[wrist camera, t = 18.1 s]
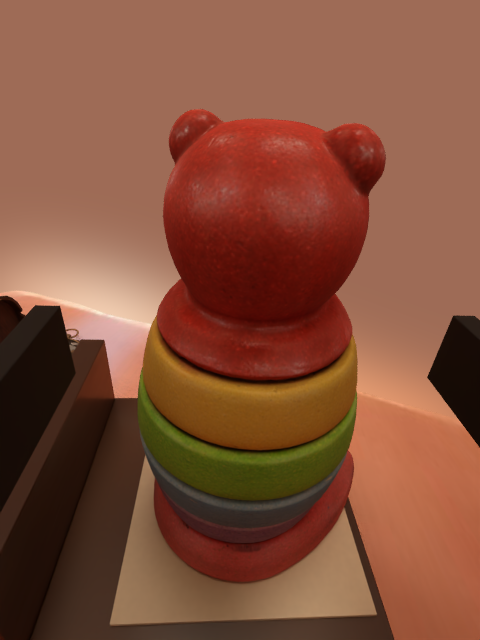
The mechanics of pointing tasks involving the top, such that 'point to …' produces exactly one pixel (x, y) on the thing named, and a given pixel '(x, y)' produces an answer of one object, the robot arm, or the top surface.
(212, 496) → the stacking bear
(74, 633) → the dollhouse bed
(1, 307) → the compass
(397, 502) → the top surface
